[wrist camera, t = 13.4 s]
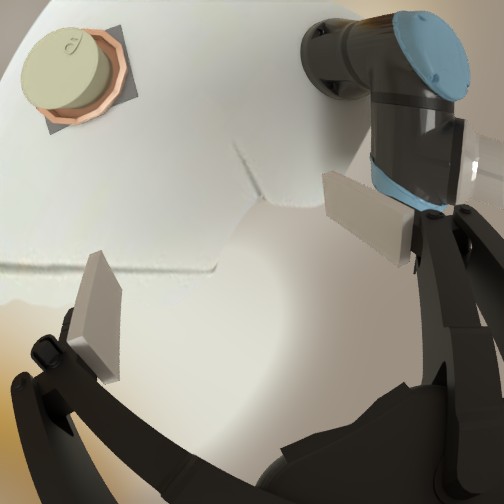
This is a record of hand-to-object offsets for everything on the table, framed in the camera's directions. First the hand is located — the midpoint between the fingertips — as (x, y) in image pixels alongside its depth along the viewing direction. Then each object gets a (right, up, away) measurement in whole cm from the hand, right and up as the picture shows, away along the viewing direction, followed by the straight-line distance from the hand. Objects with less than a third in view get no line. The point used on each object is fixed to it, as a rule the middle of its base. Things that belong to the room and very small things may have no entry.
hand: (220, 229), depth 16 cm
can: (-21, +22, +13) cm, 34 cm away
